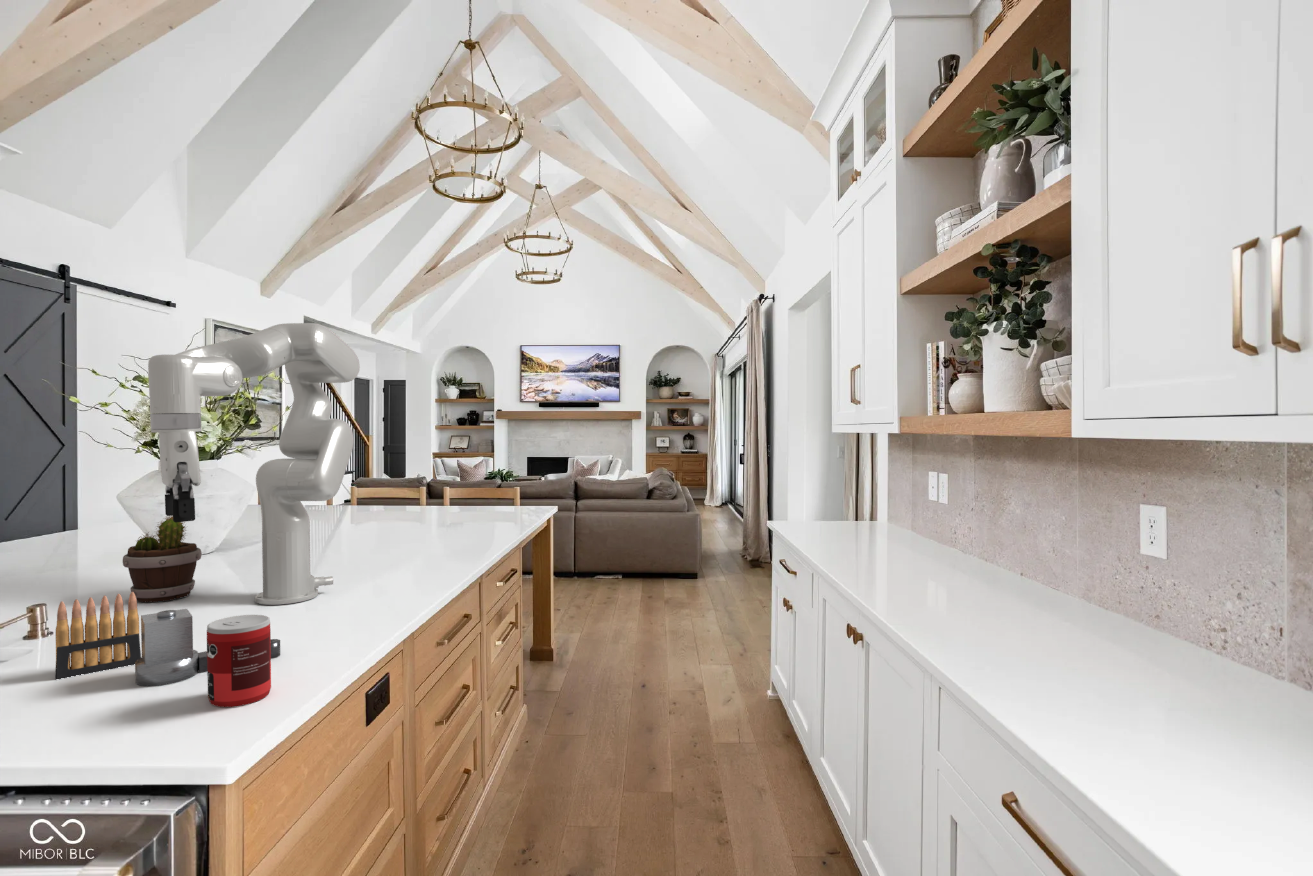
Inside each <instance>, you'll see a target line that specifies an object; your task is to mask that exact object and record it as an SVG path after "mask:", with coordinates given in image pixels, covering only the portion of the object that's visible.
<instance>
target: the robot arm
mask: <svg viewBox="0 0 1313 876" xmlns="http://www.w3.org/2000/svg"><path fill="white" fill-rule="evenodd" d="M147 366H148V367H147V369H148V371H147V372H148V394H149V395H148V396H149V417H150V420H149V422H150V433H157V434H158V440H159V441H158V442H159V443H158V447H159V463H160V466H159V467H160V475H161V482H162V484H163V485H165V493H164V508H165V510H164V511H165V515H166V516H167V517H169V516H171V517H173V521H174V522H182V523H184V522H185V523H187V522H193V521H195V520H196V501H195V496H194V494H195V493H194V489H193V486H195V487H199V486H200V485H201V484H202V483H201V482H202V481H201V472H200V471H201V469H200V459H199V458H200V455H199V445H198V438H197V433H199V432H202V408H201V407H202V405H201V404H202V403H201V397H225V396H228V395H231V394H233V393H235V392H236V391H237V390H239V388H240V387H241V385H242V383H243V379H247V378H248V379H249V378H255V377H259V376H263V375H266V374H269V373H270V372H272V371H275V370H277V369H278V368H280V367H283V366H284V369H285V374H286V375H287V378H288V382H289V384H290V387H291V389H292V394H293V402H292V405H291V408H290V411H289V413H288V416H287V419H286V421H285V423H284V426H283V429H282V431H281V433H280V437H279V441H278V447H279V450H280V452H281V454H283V456H286V457H287V458H276V459H271V460H268V461H266V462H264V463H263V464H262V465H260V466H259V468H258V470H257V471H256V474H255V475H256V476H255V485H256V492H257V495H258V500H259V505H260V511H261V552H262V553H261V554H262V592H260V593H258V594H256V595H255V596H254V602H255V603H257V604H259V605H264V606H265V605H267V606H269V605H270V606H273V605H274V606H277V605H287V604H288V605H289V604H295V603H302V602H305V601H309V600H312V599H315V598H316V597H317V596H319V590H318V589H319V587H321V586H324V587H325V586H331V585H334V576H316V577H315V576H314V575H312V574H311V532H310V531H311V529H310V528H311V522H310V516H309V513H308V511H307V509H306V508H305V506H304V505H303V503H302V502H325V501H329V500H331V499H333V498H335V496H336V495H337V493H338V492H339V490H340V488H341V485H342V482H343V479H344V477H345V473H346V470H347V467H348V464H349V461H350V459H351V456H352V452H353V448H354V433H353V430H352V427H351V426H350V424H349V423H348V422H346V421H345V420H342V419H339V418H330V417H331V414H332V410H333V405H332V402H331V400H330V398H329V396H328V395H327V393H326V392H325V391H324V388H322V386H321V384H342V383H344V384H345V383H350V382H352V381H353V380H355V379H356V378H357V377H358V375H359V373H360V368H361V367H360V361H359V356H358V355H357V353H356V352H355V350H353V348H352V347H351V346H350V345H348V344H347V343H346V342H345V341H344V340H343V339H341V338H340V336H338V335H337V334H336V333H334V332H333V331H332V330H331V329H330V328H328V327H327V326H325V325H323V324H320V323H317V322H294V323H293V322H291V323H290V322H288V323H279V324H275V325H272V326H269V327H267V328H264V329H262V330H259V331H256V332H254V333H250V334H248V335H246V336H245V335H244V336H242V337H239V338H233V339H229V340H225V341H220V342H217V343H213V344H207V345H201V346H197V347H194V348H190V349H187V350H185V351H181V352H178V353H176V354H156V355H153V356H151V357H150V358H149V360H148V363H147ZM196 432H197V433H196Z"/></svg>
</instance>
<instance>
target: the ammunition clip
mask: <svg viewBox="0 0 1313 876" xmlns="http://www.w3.org/2000/svg"><path fill="white" fill-rule="evenodd" d="M88 598H89V599H88V601H87V604H86V608H85V609H86V610H85V614H86V615H85V622H84V623H83V615H82V613H83V612H82V606H81V604H80V601H79V600H78V599H77V598H76V599H74V602H73V604H72V608H71V609H72V610H71V620H70V621H71V624H70V626H69V622H68V621H69V620H68V612H67V607H66V604H65V602H64V600H61V601H60V602H59V604H58V607H57V613H56V627H55V669H54V670H55V672H54V679H55V680H56V679H59V680H62V679H61V678H64V679H68V678H67V677H69V678H72V677H71V676H74V677H77V676H76V675H79V676H82V675H81V674H84V675H90V674H94V673H93V672H95V673H100V672H104V671H103V670H105V671H109V669H110V670H115V669H119V668H118V667H121V668H125V667H124V666H126V667H129V666H128V665H131V666H135V665H134V664H135V662H136V660H138V659H140V658H142V649H141V642H140V641H141V640H140V638H141V636H140V616H139V612H138V611H139V610H138V601H137V599H136V596H135V594H134V592H131V591H130V594H129V598H128V601H127V602H128V604H127V607H128V608H127V616H126V617H125V609H124V601H123V597H122V595H121V594H120V593H117V595H116V597H115V600H114V607H113V608H114V609H113V610H114V611H113V620H112V618H111V610H110V608H111V607H110V602H109V600H108V597H107V596H106V595H103V597H102V598H101V602H100V609H99V611H100V612H99V613H100V614H99V620H98V621H99V622H98V621H97V614H96V612H97V610H96V604H95V601H94V599H93V598H92V597H88ZM99 671H100V672H99ZM89 673H90V674H89Z"/></svg>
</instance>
